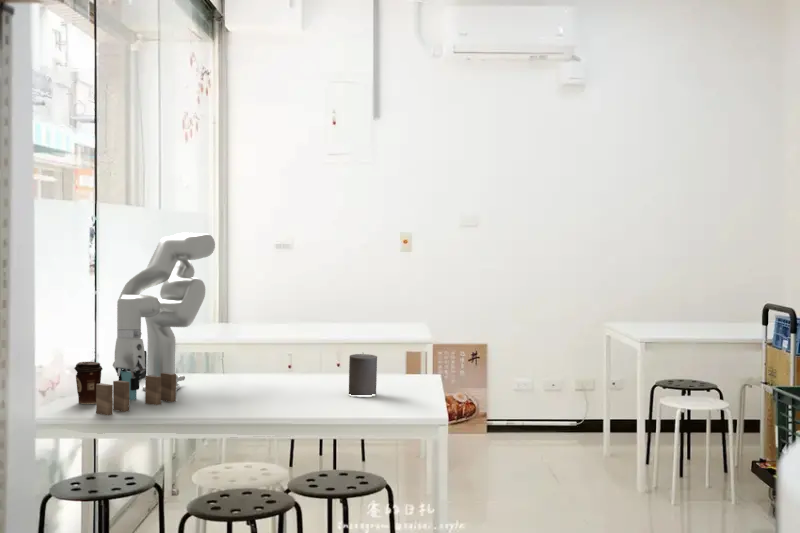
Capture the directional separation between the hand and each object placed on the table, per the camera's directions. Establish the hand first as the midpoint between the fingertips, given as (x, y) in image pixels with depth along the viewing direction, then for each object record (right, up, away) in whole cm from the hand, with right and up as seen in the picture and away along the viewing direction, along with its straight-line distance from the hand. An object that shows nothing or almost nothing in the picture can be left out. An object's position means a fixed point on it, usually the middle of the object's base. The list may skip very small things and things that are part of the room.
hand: (128, 388), depth 296 cm
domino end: (+14, -4, -2) cm, 14 cm away
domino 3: (+10, -4, -8) cm, 14 cm away
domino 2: (0, -4, 0) cm, 4 cm away
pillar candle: (+77, -4, +13) cm, 78 cm away
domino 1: (+3, -4, -19) cm, 20 cm away
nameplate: (-9, -2, +36) cm, 37 cm away
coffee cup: (-11, -4, -8) cm, 14 cm away
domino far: (0, -4, -24) cm, 25 cm away
